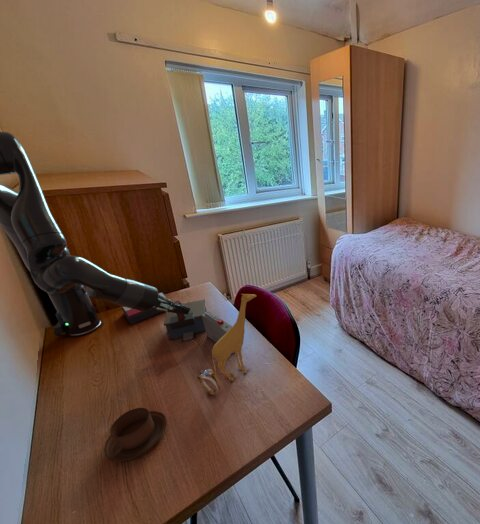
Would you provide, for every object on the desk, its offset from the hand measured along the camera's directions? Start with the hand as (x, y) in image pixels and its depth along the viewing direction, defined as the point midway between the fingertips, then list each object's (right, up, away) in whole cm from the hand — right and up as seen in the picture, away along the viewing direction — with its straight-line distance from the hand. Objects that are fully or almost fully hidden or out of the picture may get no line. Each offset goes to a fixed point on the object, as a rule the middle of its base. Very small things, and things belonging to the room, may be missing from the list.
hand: (186, 310), depth 96 cm
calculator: (-28, -4, +22) cm, 35 cm away
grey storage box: (-5, -8, +12) cm, 15 cm away
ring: (+17, -21, -16) cm, 31 cm away
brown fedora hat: (+5, -26, -28) cm, 39 cm away
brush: (-1, -5, 0) cm, 5 cm away
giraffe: (+23, -17, -9) cm, 30 cm away
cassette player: (+11, -12, +3) cm, 16 cm away
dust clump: (-2, -10, +5) cm, 11 cm away
